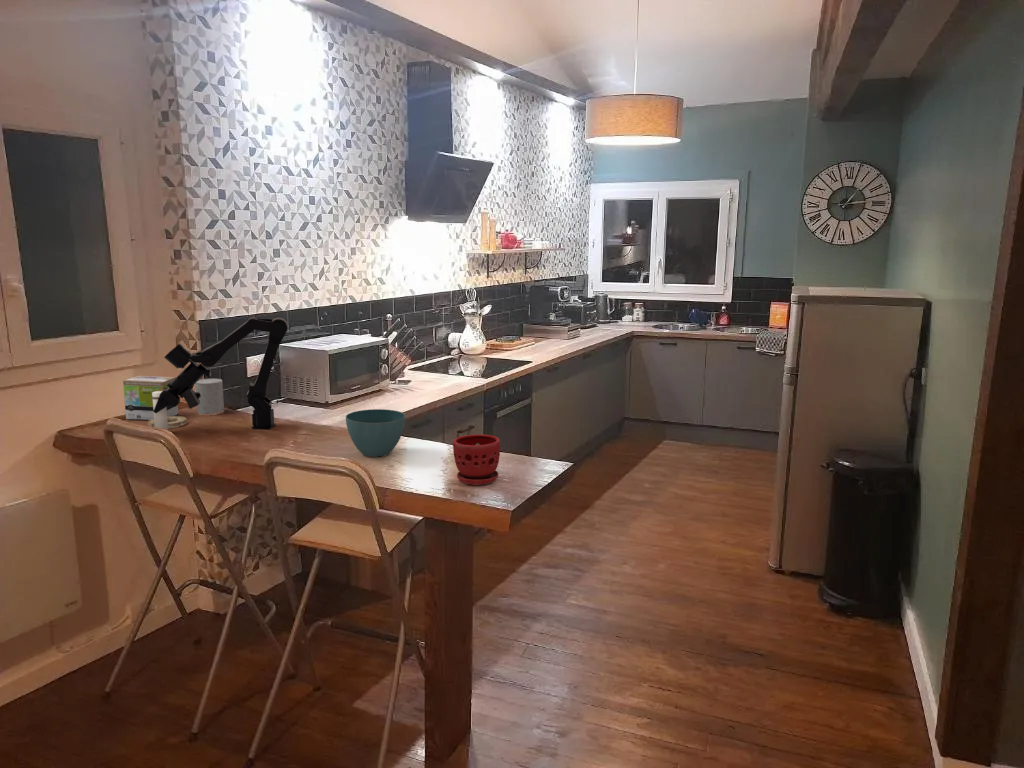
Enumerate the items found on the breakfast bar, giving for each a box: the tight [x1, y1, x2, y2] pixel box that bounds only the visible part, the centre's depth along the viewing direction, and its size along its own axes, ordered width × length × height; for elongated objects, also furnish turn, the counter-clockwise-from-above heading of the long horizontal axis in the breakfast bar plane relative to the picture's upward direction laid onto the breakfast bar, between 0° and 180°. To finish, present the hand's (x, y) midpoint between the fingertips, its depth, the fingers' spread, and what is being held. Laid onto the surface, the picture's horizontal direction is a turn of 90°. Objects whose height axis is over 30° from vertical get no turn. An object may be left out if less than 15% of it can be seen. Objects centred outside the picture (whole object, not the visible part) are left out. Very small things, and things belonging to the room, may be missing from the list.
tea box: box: [122, 375, 179, 421], centre depth 270 cm, size 15×10×15 cm, turn 88°
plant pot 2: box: [452, 434, 501, 486], centre depth 206 cm, size 13×13×12 cm
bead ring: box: [147, 415, 188, 430], centre depth 261 cm, size 12×12×2 cm
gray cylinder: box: [194, 378, 225, 414], centre depth 278 cm, size 10×10×12 cm
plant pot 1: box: [345, 408, 406, 458], centre depth 229 cm, size 18×18×12 cm
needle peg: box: [152, 391, 169, 431], centre depth 249 cm, size 4×4×14 cm
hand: (155, 410), depth 249 cm, fingers closed on needle peg, 4 cm apart
